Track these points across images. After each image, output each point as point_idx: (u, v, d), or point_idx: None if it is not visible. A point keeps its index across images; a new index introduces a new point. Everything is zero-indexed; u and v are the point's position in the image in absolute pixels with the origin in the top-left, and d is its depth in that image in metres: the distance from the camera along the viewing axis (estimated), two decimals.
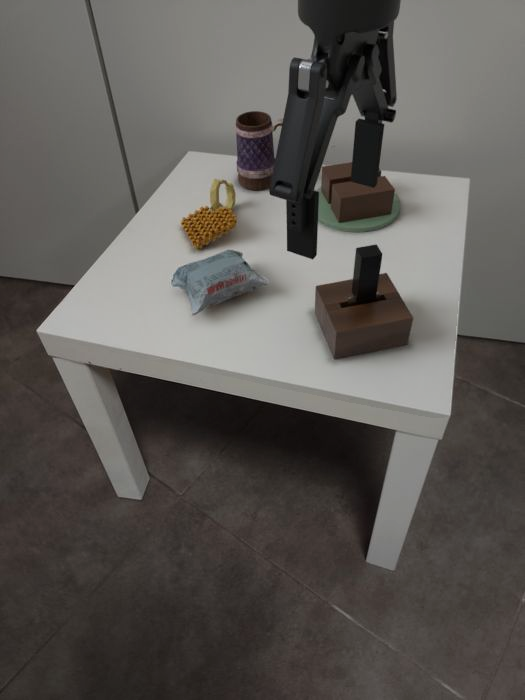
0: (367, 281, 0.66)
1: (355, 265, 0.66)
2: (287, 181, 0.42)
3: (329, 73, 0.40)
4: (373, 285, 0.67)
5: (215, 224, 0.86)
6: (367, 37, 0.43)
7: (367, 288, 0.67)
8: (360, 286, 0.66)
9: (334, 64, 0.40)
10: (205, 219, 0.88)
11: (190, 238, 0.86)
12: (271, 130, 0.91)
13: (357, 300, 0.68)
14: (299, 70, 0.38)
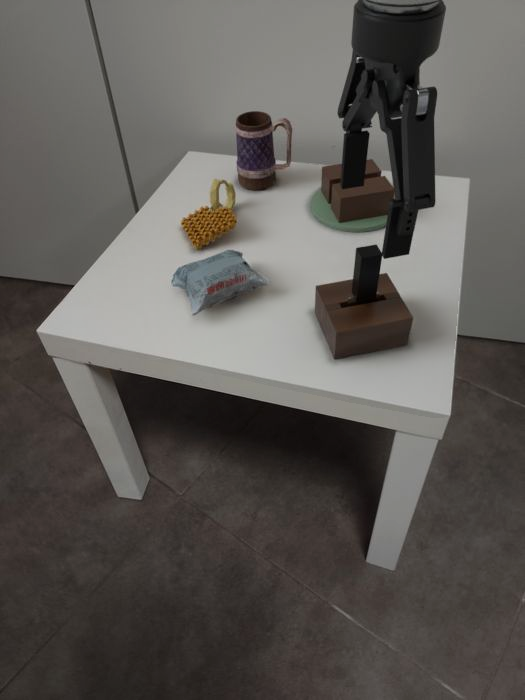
0: (367, 281, 0.66)
1: (355, 265, 0.66)
2: (424, 192, 0.48)
3: None
4: (373, 285, 0.67)
5: (215, 224, 0.86)
6: None
7: (367, 288, 0.67)
8: (360, 286, 0.66)
9: None
10: (205, 219, 0.88)
11: (190, 238, 0.86)
12: (271, 130, 0.91)
13: (357, 300, 0.68)
14: (419, 99, 0.44)
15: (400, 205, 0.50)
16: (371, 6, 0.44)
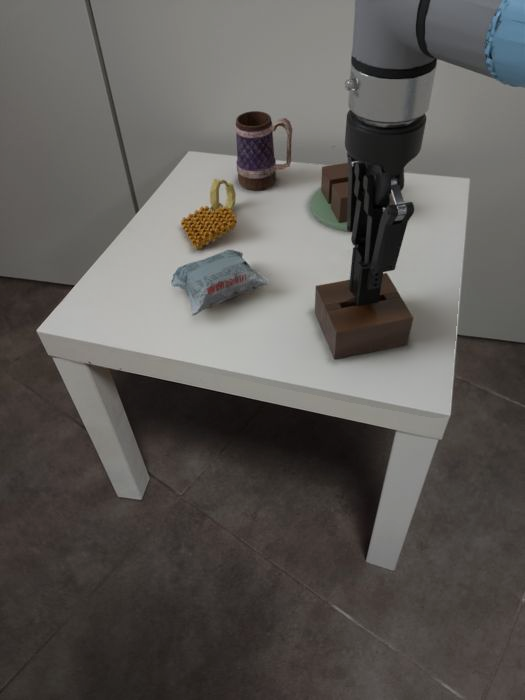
0: None
1: (355, 265, 0.66)
2: (387, 264, 0.59)
3: None
4: None
5: (215, 224, 0.86)
6: None
7: None
8: None
9: None
10: (205, 219, 0.88)
11: (190, 238, 0.86)
12: (271, 130, 0.91)
13: None
14: (398, 216, 0.53)
15: (367, 268, 0.62)
16: (361, 119, 0.51)
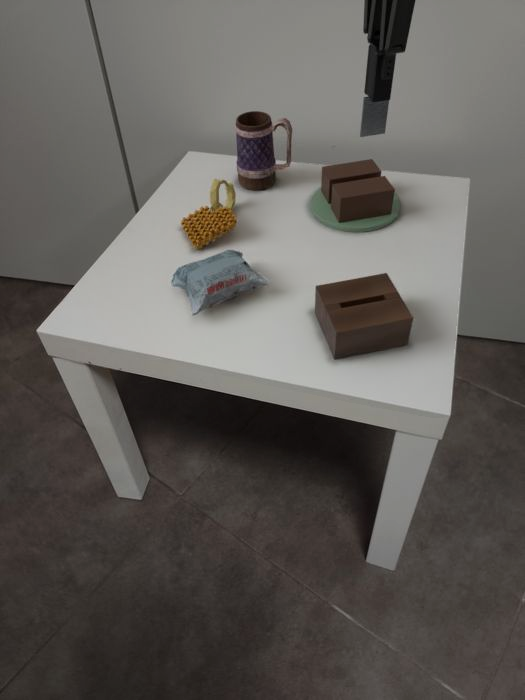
0: None
1: (370, 61, 0.76)
2: (399, 43, 0.70)
3: None
4: None
5: (215, 224, 0.86)
6: None
7: None
8: None
9: None
10: (205, 219, 0.88)
11: (190, 238, 0.86)
12: (271, 130, 0.91)
13: None
14: None
15: (381, 54, 0.73)
16: None
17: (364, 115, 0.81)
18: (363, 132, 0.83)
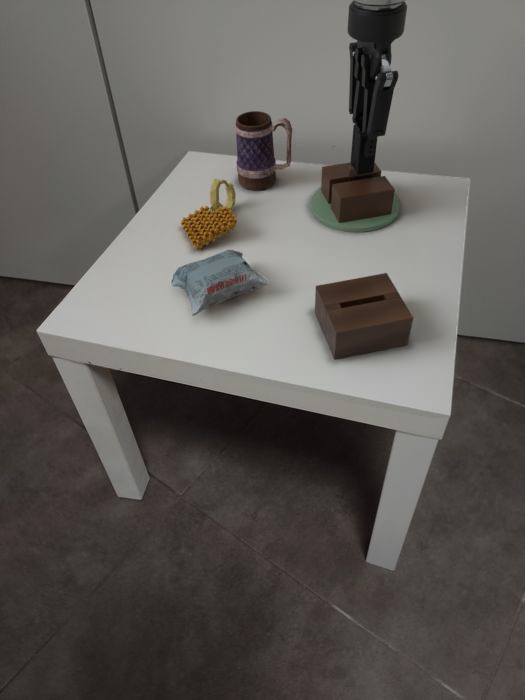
0: None
1: (355, 139, 0.85)
2: (379, 129, 0.78)
3: (388, 63, 0.72)
4: None
5: (215, 224, 0.86)
6: None
7: None
8: None
9: (391, 57, 0.72)
10: (205, 219, 0.88)
11: (190, 238, 0.86)
12: (271, 130, 0.91)
13: None
14: (386, 80, 0.72)
15: (364, 136, 0.81)
16: (359, 6, 0.70)
17: None
18: None
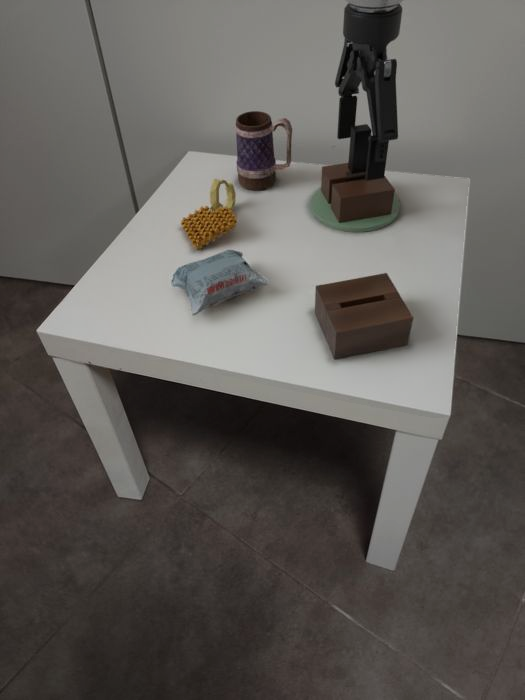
0: (360, 154, 0.85)
1: (350, 142, 0.85)
2: (390, 128, 0.73)
3: None
4: (364, 158, 0.86)
5: (215, 224, 0.86)
6: None
7: (360, 161, 0.86)
8: (354, 158, 0.85)
9: None
10: (205, 219, 0.88)
11: (190, 238, 0.86)
12: (271, 130, 0.91)
13: (352, 172, 0.87)
14: (385, 66, 0.70)
15: (376, 139, 0.75)
16: (355, 8, 0.70)
17: None
18: None
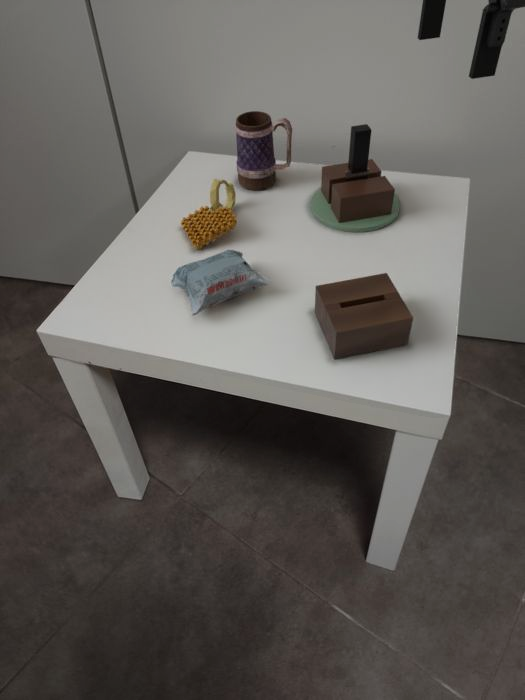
0: (360, 154, 0.85)
1: (350, 142, 0.85)
2: None
3: None
4: (364, 158, 0.86)
5: (215, 224, 0.86)
6: None
7: (360, 161, 0.86)
8: (354, 158, 0.85)
9: None
10: (205, 219, 0.88)
11: (190, 238, 0.86)
12: (271, 130, 0.91)
13: (352, 172, 0.87)
14: None
15: (495, 9, 0.54)
16: None
17: None
18: None
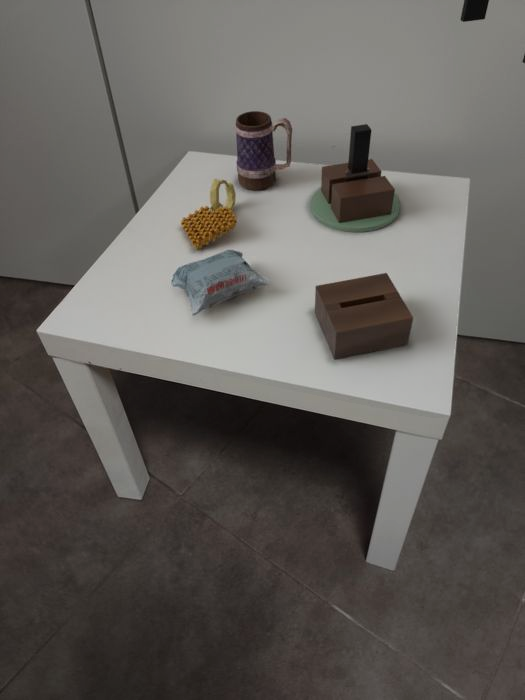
0: (360, 154, 0.85)
1: (350, 142, 0.85)
2: None
3: None
4: (364, 158, 0.86)
5: (215, 224, 0.86)
6: None
7: (360, 161, 0.86)
8: (354, 158, 0.85)
9: None
10: (205, 219, 0.88)
11: (190, 238, 0.86)
12: (271, 130, 0.91)
13: (352, 172, 0.87)
14: None
15: None
16: None
17: None
18: None
